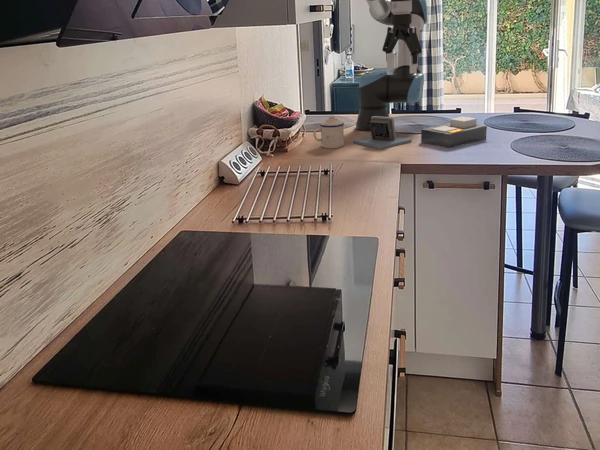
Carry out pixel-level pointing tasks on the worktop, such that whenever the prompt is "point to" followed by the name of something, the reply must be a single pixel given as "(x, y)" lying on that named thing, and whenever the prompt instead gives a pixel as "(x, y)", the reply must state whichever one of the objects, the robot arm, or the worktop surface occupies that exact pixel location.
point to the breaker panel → (453, 135)
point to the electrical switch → (382, 128)
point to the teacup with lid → (331, 133)
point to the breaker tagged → (444, 129)
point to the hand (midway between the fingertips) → (401, 71)
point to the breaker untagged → (463, 122)
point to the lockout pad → (381, 142)
